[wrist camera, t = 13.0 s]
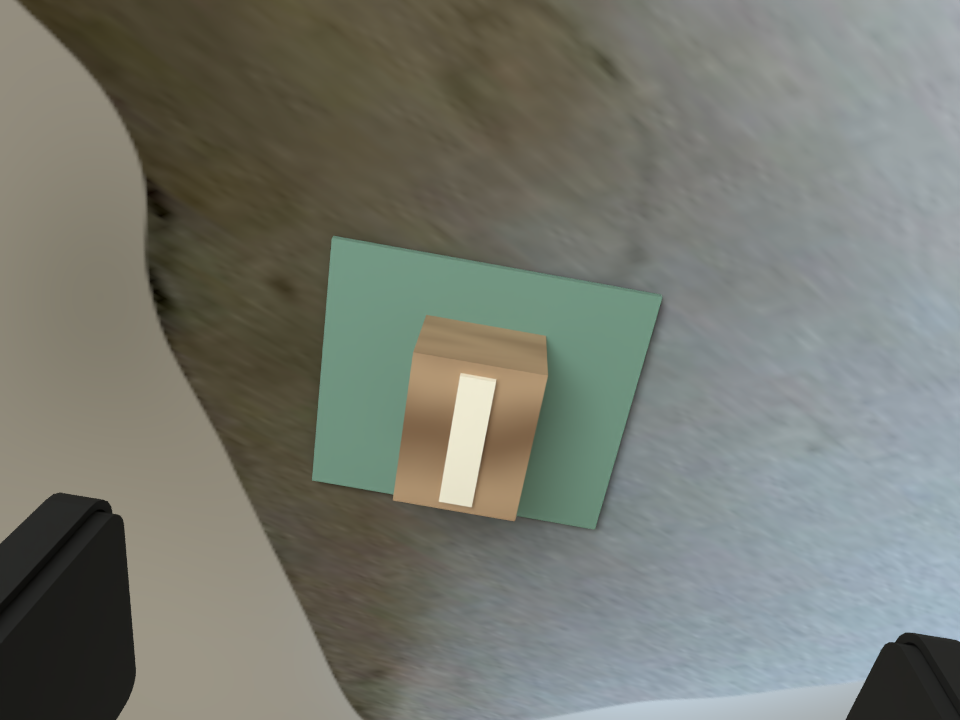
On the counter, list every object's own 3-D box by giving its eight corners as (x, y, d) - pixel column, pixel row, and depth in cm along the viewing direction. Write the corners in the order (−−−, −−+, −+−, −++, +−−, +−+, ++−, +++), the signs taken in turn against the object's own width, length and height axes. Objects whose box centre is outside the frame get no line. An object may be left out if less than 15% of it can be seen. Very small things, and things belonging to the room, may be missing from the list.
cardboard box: (516, 469, 40) (514, 525, 35) (406, 450, 40) (391, 503, 35) (545, 335, 36) (548, 378, 32) (426, 315, 36) (412, 355, 32)
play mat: (660, 294, 35) (662, 297, 35) (594, 525, 41) (594, 529, 41) (333, 235, 35) (331, 238, 35) (313, 476, 41) (312, 480, 41)
